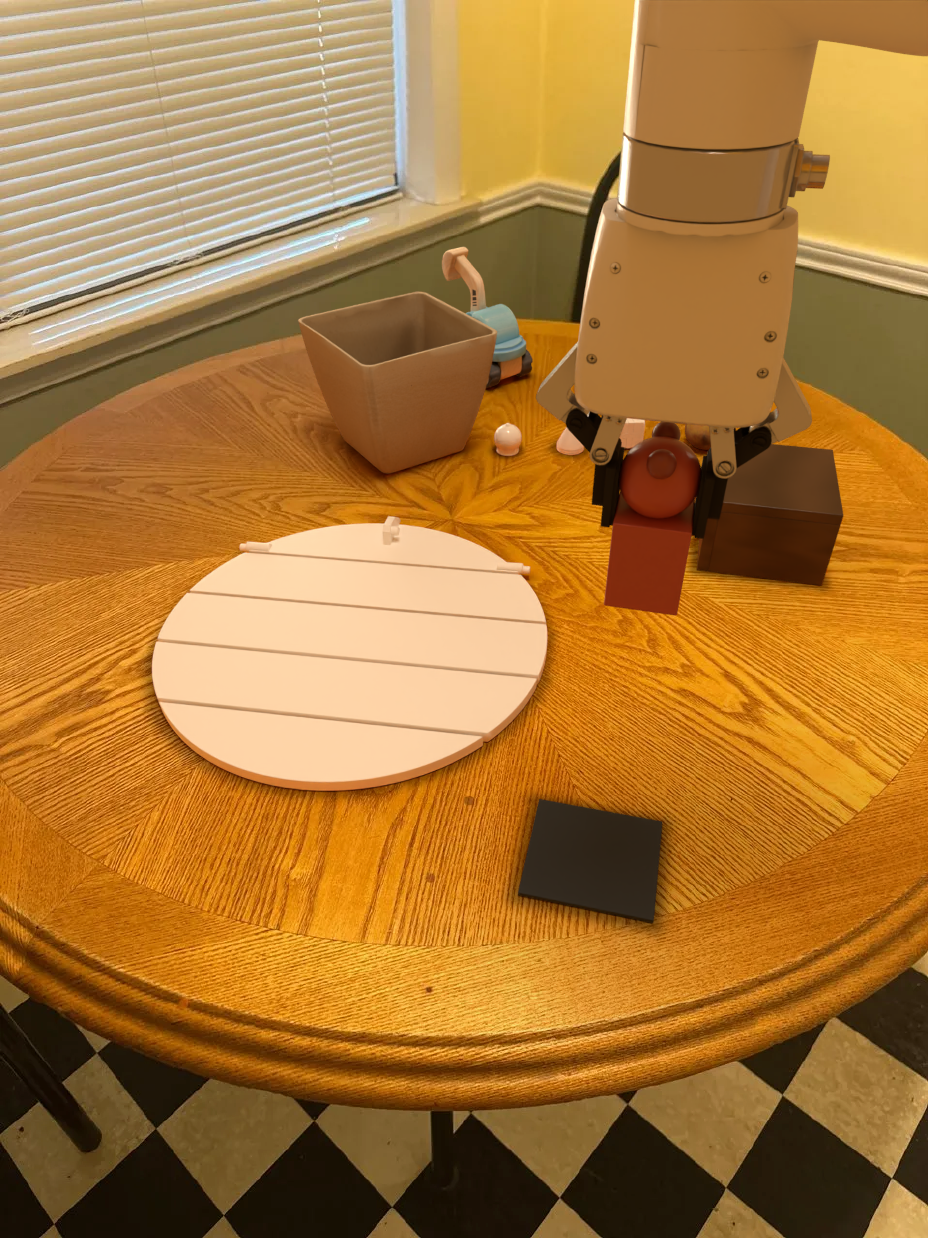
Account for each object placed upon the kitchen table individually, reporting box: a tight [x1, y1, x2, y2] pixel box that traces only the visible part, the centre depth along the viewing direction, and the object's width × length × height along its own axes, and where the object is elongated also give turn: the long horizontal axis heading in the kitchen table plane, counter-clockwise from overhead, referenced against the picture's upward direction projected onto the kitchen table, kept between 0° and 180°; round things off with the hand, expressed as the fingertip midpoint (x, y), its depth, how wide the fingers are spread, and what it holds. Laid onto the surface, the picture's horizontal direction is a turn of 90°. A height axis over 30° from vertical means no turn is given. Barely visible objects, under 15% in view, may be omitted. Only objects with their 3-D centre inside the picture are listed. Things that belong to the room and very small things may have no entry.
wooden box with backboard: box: [696, 443, 844, 587], centre depth 95 cm, size 13×14×12 cm
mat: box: [517, 798, 663, 924], centre depth 67 cm, size 10×9×1 cm
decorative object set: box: [493, 418, 646, 457], centre depth 116 cm, size 5×20×4 cm, turn 92°
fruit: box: [684, 424, 711, 451], centre depth 113 cm, size 6×6×12 cm
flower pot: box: [297, 290, 497, 474], centre depth 114 cm, size 19×19×17 cm
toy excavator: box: [441, 246, 534, 389], centre depth 133 cm, size 9×17×17 cm, turn 34°
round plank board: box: [151, 515, 548, 792], centre depth 87 cm, size 40×39×3 cm
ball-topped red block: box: [603, 422, 702, 617], centre depth 50 cm, size 5×5×11 cm
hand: (653, 517), depth 50 cm, fingers closed on ball-topped red block, 4 cm apart
